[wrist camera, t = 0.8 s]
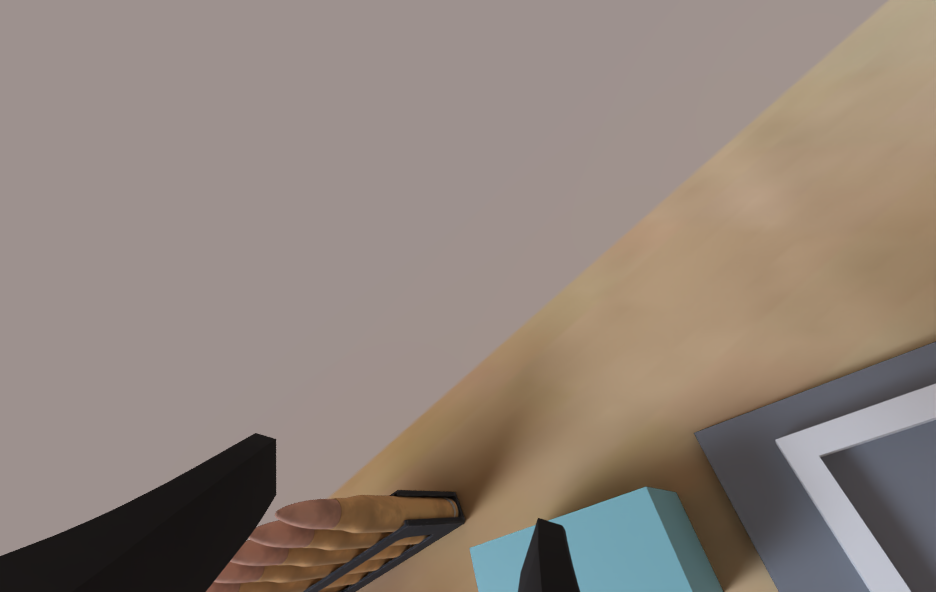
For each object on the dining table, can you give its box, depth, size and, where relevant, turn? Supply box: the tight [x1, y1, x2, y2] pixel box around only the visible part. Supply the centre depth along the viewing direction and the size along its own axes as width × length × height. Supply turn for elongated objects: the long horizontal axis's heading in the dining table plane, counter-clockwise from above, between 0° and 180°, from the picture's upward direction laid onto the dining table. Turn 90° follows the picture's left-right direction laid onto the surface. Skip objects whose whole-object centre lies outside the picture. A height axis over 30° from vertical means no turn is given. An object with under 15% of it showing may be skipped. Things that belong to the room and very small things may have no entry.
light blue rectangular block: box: [470, 487, 723, 592], centre depth 19 cm, size 4×8×6 cm, turn 107°
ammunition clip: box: [206, 490, 465, 592], centre depth 23 cm, size 11×2×12 cm, turn 117°
